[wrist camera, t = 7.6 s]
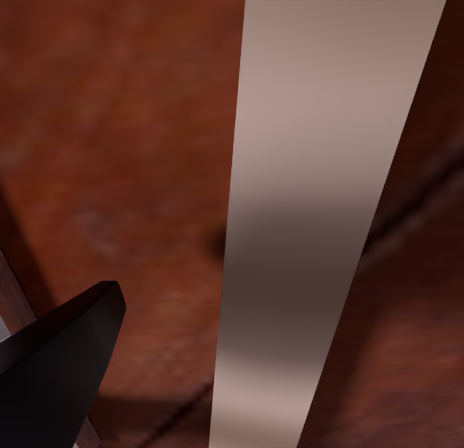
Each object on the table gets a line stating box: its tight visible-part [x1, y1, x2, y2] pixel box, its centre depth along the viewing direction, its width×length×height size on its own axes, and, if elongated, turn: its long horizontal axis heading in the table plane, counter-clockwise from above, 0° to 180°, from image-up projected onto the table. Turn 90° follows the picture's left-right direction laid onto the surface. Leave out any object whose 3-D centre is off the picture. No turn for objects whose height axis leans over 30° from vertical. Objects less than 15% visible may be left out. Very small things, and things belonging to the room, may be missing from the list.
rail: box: [209, 0, 446, 448], centre depth 9 cm, size 24×3×3 cm, turn 175°
